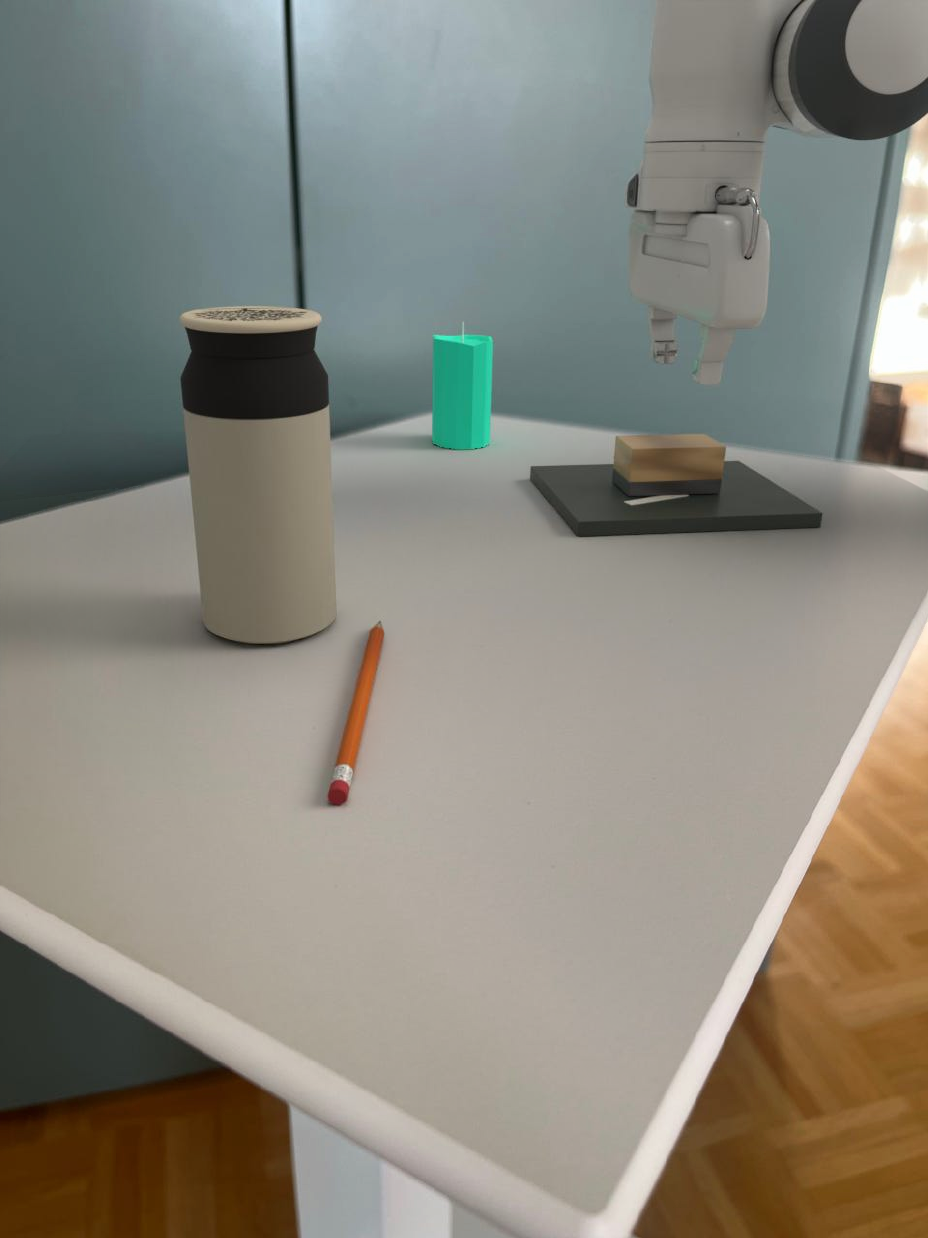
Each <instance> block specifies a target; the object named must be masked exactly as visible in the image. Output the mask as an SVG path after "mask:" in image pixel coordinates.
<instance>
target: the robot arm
mask: <svg viewBox="0 0 928 1238" xmlns="http://www.w3.org/2000/svg"><path fill="white" fill-rule="evenodd" d="M650 37H651V38H650V47H649V48H650V49H649V59H648V60H649V61H648V85H649V89H650V95H651V96H650V97H651V112H650V117H649V122H648V124H647V127H646V130H645V133H644V138H643V151H642V152H643V153H642V161H641V162H640V164H639V167H638V169H637V170H636V171H635V172H634V174H633V175H632V176H631V177H630V178H629V179H628V181H627V182H626V185H625V194H624V206H625V208H626V209H628V210H631V211H632V213H631V214H630V218H629V222H628V233H627V235H628V236H627V284H628V289H629V294H630V297H631V298H632V300H633V301H636V302H638V303H641V304H644V305H647V307H648V308H647V323H648V328H649V334H650V339H651V346H650V359H651V361H653V362H654V363H657V364H659V365H672V364H674V363H675V362H676V361H677V357H678V356H677V355H678V354H677V353H678V346H679V342H678V341H676V336H675V332H676V331H675V320H676V319H677V318H678V316H679V317H682V318H684V319H687V320H690V321H694V322H696V323H699V324H700V331H699V338H700V339H702V341H701V344H700V349H699V352H698V356H697V358H693V364H692V369H693V371H692V375H691V376H692V380H693V381H694V382H696V383H698V384H700V385H702V386H717V385H719V384H720V383H721V381H722V376H723V368H724V362H725V360H726V358H727V356H728V353H729V351H730V348H731V346H732V345H733V342H734V340H735V332H736V331H735V330H749V329H756V328H758V327H760V325H761V323H762V321H763V319H764V317H765V315H766V311H767V308H768V307H767V306H768V296H769V295H768V294H769V281H770V264H771V263H770V261H771V236H770V228H769V225H768V222H767V219H765V218H764V217H763V216H762V208H761V206H759V205H760V198H761V197H760V196H761V195H760V194H761V187H762V178H763V171H764V159H765V152H766V142H767V134H768V132H769V130H770V129H771V128H772V127H773V128H777V129H781V130H787V131H790V132H793V133H794V134H797V135H800V136H803V137H808V138H812V139H813V138H815V139H824V138H825V139H828V138H829V139H836V138H843V139H848V140H852V141H876V140H880V139H884V138H888V137H891V136H894V135H897V134H899V133H901V132H903V131H905V130H907V129H909V128H911V127H912V126H913V125H915V124H917V123H918V122H919V121H920V120H922V119H923V118H924V117H926V115H928V0H656V1H655V7H654V12H653V21H652V29H651V36H650Z"/></svg>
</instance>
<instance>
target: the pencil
mask: <svg viewBox="0 0 928 1238" xmlns="http://www.w3.org/2000/svg"><path fill="white" fill-rule="evenodd" d="M384 638H385V631H384V627H383V625H382V622H381V620H379V621H378V622H377V623H376V624H375V625H374V626H373V627H372V628H371V629H370V630H369V634H368V639H367V642H366V645H365V649H364V654H363V657H362V661H361V665H360V668H359V672H358V676H357V681H356V685H355V688H354V692H353V695H352V701H351V704H350V707H349V711H348V715H347V719H346V724H345V726H344V730H343V734H342V739H341V742H340V747H339V750H338V754H337V756H336V757H337V758H336V760H335V765H334V770H333V773H332V777H331V782H330V785H329V789H328V793H327V800H328V801H329V802H330V803H331V804H333V805H336V806H341V805H344V804H345V803H346V802H347V801H348V796H349V794H350V793H349V792H350V789H351V783H352V779H353V775H354V770H355V766H356V762H357V758H358V754H359V753H358V752H359V749H360V744H361V739H362V735H363V731H364V727H365V723H366V718H367V713H368V709H369V704H370V701H371V700H370V699H371V696H372V691H373V688H374V687H373V686H374V682H375V677H376V674H377V669H378V665H379V661H380V655H381V651H382V646H383V643H384Z"/></svg>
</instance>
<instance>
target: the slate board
mask: <svg viewBox="0 0 928 1238" xmlns="http://www.w3.org/2000/svg"><path fill="white" fill-rule="evenodd" d="M613 464H614V463H599V464H595V463H594V464H566V465H565V464H562V465H561V464H560V465H559V464H558V465H531V466H530V472H529V473H530V474H529V480H531V482H532V483H533V484H534V485H535V487H537V489H538V490H539V492H541V494H542V495H543V496H544V498H545V499H546V500H547V501H548V502H549V504H550V505H551V506H552V507H553V508H554V509H555V511H556V512H557V513H558V514H559V516H560V517H561V518H562V519H563V520H564V522H565V523H566V524H567V525H568V527H569V528H570V529H571V531H573V532H574V534H575V535H576V536H577V537H596V536H597V537H600V536H624V535H626V536H627V535H649V534H651V535H652V534H677V533H701V532H703V533H704V532H705V533H706V532H727V531H729V532H730V531H731V532H733V531H755V530H756V531H757V530H780V529H781V530H784V529H802V528H803V529H808V528H809V529H810V528H821V525H822V519H823V512H822V511H821V510H819V509H817V508H815V507H814V506H812V505H810V504H809V503H807V502H806V501H804V500H802V498H799V497H798V496H796V495H795V494H794V493H791V492H789V490H786V489H785V488H784V487H782V486H780V485H779V484H777V483H775V482H774V481H772V480H771V479H770V478H767V477H766V476H764V475H763V474H761V473H759V472H757V471H756V470H755V469H753V468H751V467H750V466H748V465H746V464H745V463H743V462H741V461H740V460H724V467H723V475H722V479H721V480H722V483H721V491H720V494H690V495H659V496H628V495H626V494H625V493H624V492H623V491H622V490H621V489H620V488H619V487H618V486H617V485H616V484H614V483H613V482H612V475H613Z"/></svg>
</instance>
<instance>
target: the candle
mask: <svg viewBox="0 0 928 1238" xmlns="http://www.w3.org/2000/svg"><path fill="white" fill-rule="evenodd" d="M461 326H462V329H461V330H462V331H461V333H462V334H459V335H442V334H441V335H439V334H432V411H431V412H432V413H431V414H432V417H431V419H432V421H431V422H432V423H431V425H432V426H431V427H432V428H431V429H432V430H431V433H432V434H431V439H432V440H431V441H432V445H434V444H436V445H438V446H437V447H439V446H440V447H439V448H442V447H444V448H443V449H449V448H451V449H450V450H476V449H475V448H477V449H482V448H481V447H483V448H486V447H487V446H489V445H490V444H491V420H492V419H491V418H492V416H491V415H492V391H493V390H492V388H493V387H492V386H493V384H492V383H493V353H494V340H493V337H492V336H490V335H481V334H479V335H478V334H465V321H462V325H461ZM489 443H490V444H489ZM488 444H489V445H488ZM436 445H435V446H436ZM486 445H487V446H486Z"/></svg>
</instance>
